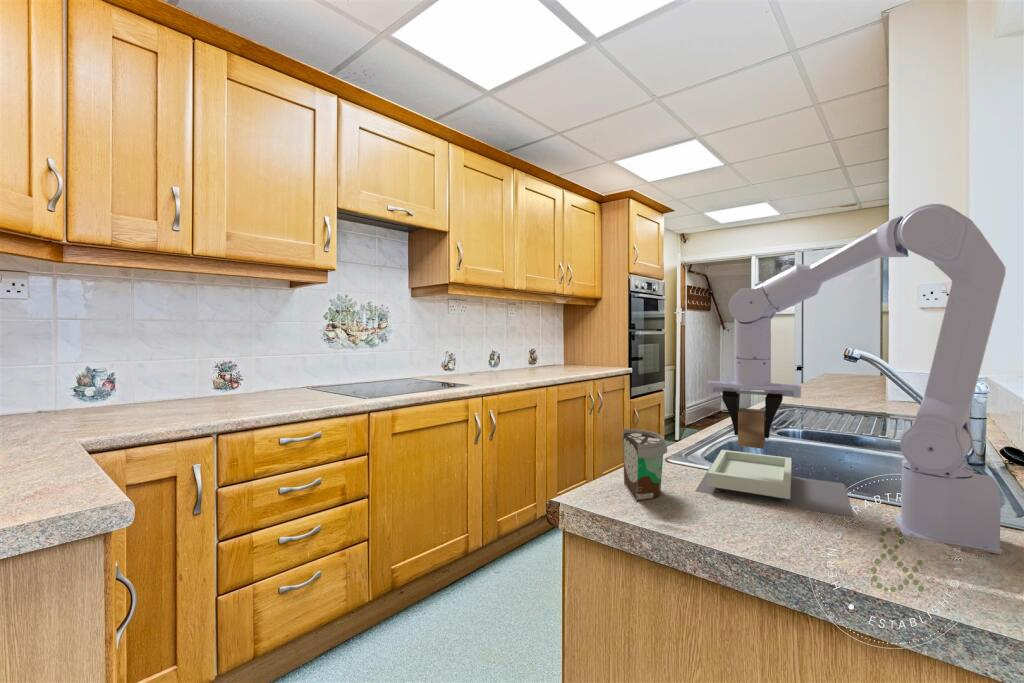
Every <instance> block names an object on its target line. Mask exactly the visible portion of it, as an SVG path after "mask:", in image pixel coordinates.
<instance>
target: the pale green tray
mask: <svg viewBox="0 0 1024 683" xmlns="http://www.w3.org/2000/svg"><path fill="white" fill-rule="evenodd" d="M710 466H711V468H710V467H709V468H710V469H709V468H708V469H709V471H708V470H707V471H708V473H707V472H706V473H707V486H710V487H716V488H718V491H722V492H725V490H726V489H729V490H735V491H742V492H748V493H754V494H760V495H767V496H772V500H778V501H779V500H780V498H786V499H790V492H791V477H792V457H787V456H777V455H769V454H760V453H754V452H753V453H752V452H745V451H735V450H729V449H728V450H727V449H720V452H719V453H718V454H717V456H716V458H715V459H714V461H713V462H712V465H710Z"/></svg>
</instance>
